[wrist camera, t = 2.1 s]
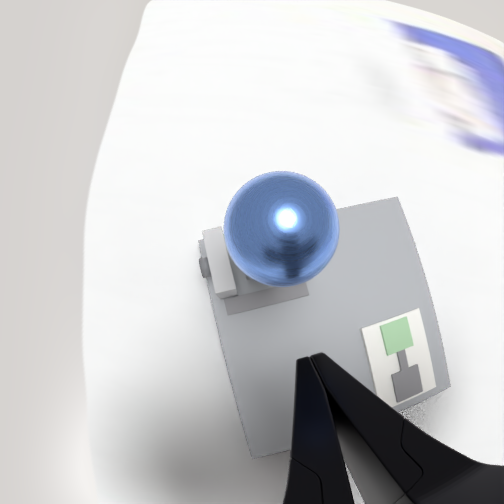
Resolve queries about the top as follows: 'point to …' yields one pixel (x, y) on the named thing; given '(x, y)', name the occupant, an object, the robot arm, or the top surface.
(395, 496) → the robot arm
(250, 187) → the lever
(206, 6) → the top surface
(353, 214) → the switch panel
